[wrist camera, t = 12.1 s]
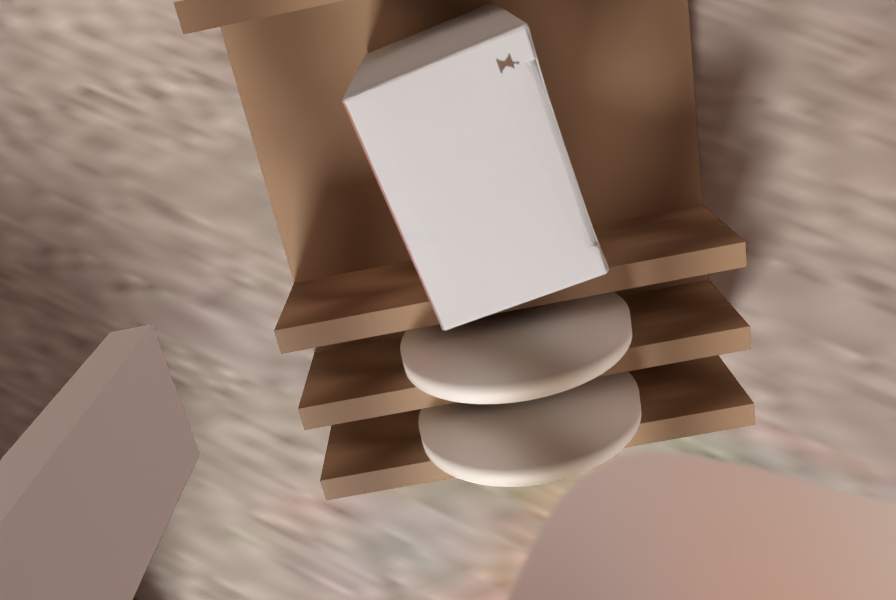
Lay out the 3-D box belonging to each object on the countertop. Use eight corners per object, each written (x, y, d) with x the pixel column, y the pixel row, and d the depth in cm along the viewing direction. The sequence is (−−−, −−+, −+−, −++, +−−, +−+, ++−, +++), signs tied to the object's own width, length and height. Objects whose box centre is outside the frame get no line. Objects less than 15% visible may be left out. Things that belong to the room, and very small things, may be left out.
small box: (362, 53, 32) (334, 92, 22) (496, -2, 31) (527, 14, 21) (436, 234, 35) (440, 338, 25) (559, 187, 34) (612, 276, 24)
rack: (340, 422, 40) (313, 565, 30) (218, -5, 32) (132, 8, 23) (706, 356, 39) (796, 482, 29) (671, -100, 31) (776, -128, 22)
